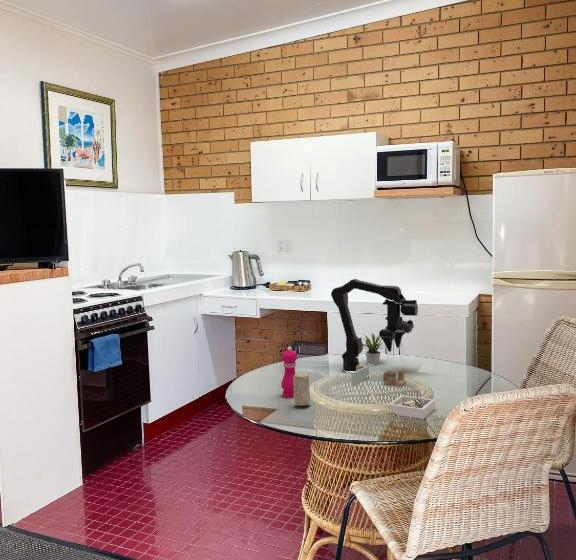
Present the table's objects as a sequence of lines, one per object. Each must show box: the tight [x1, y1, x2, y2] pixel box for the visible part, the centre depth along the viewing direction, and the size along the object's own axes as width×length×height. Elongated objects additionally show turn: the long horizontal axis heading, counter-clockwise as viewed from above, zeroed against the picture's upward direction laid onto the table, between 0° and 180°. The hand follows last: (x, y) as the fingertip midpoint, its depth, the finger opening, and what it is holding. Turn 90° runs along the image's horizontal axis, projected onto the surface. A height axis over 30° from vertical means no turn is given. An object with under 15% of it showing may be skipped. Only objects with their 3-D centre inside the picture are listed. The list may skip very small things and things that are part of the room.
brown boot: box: [382, 370, 407, 388], centre depth 257 cm, size 8×4×6 cm, turn 55°
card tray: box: [387, 394, 436, 420], centre depth 224 cm, size 13×13×4 cm
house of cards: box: [413, 390, 426, 408], centre depth 226 cm, size 9×9×8 cm
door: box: [351, 365, 370, 387], centre depth 264 cm, size 14×1×6 cm, turn 146°
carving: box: [293, 372, 311, 407], centre depth 234 cm, size 6×8×12 cm
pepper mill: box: [280, 346, 298, 399], centre depth 247 cm, size 7×7×20 cm
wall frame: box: [356, 365, 405, 381], centre depth 267 cm, size 22×2×6 cm, turn 58°
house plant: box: [362, 332, 384, 365], centre depth 296 cm, size 14×14×16 cm
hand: (393, 349), depth 273 cm, fingers open, 9 cm apart
